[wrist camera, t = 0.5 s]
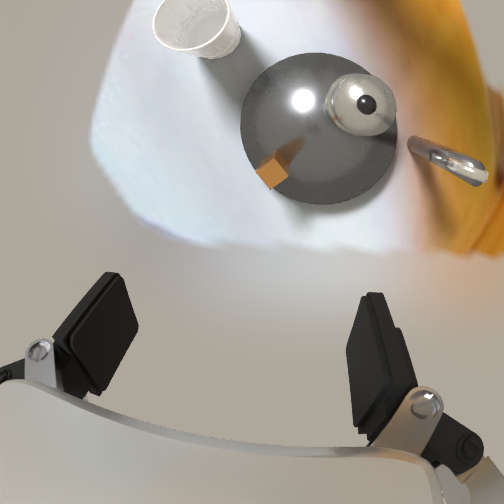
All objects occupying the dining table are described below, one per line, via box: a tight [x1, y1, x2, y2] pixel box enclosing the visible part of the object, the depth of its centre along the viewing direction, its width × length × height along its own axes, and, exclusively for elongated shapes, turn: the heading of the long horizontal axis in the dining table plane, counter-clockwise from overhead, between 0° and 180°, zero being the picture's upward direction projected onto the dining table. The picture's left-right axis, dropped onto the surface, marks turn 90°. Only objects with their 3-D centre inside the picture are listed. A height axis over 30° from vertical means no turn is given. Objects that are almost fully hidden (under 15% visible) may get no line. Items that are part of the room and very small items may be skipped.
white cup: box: [153, 0, 241, 59], centre depth 23 cm, size 8×8×10 cm
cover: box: [326, 73, 397, 136], centre depth 26 cm, size 8×8×4 cm
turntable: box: [240, 53, 397, 204], centre depth 28 cm, size 19×19×7 cm
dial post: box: [407, 136, 489, 186], centre depth 24 cm, size 6×2×16 cm, turn 88°
